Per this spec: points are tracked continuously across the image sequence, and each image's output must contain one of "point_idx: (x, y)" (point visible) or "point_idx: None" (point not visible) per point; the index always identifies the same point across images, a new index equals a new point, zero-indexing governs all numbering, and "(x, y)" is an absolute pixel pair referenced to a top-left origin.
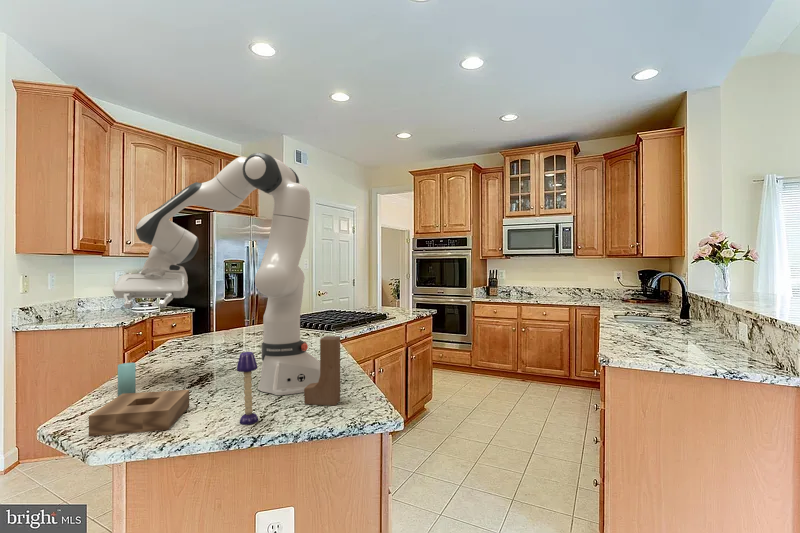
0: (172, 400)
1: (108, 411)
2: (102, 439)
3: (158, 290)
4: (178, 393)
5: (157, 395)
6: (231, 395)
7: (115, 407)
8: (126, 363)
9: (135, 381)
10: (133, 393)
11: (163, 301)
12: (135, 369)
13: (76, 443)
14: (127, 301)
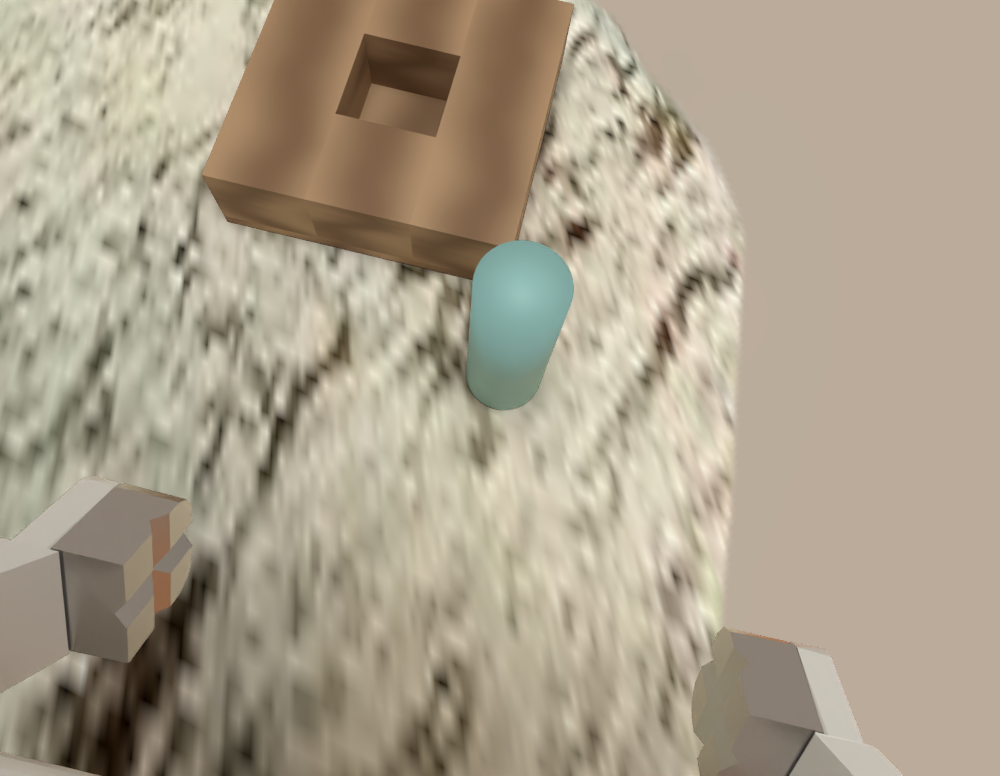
0: (283, 42)
1: (515, 21)
2: None
3: (30, 770)
4: (255, 131)
5: (348, 145)
6: (11, 300)
7: (499, 56)
8: (530, 317)
9: (469, 332)
10: (460, 229)
11: (78, 513)
12: (471, 302)
13: (581, 22)
14: (806, 697)
